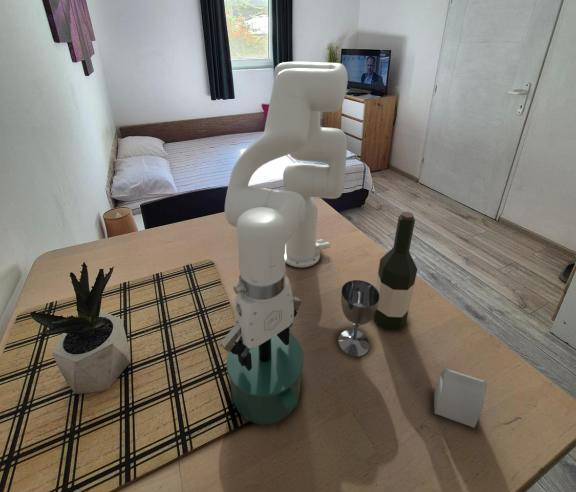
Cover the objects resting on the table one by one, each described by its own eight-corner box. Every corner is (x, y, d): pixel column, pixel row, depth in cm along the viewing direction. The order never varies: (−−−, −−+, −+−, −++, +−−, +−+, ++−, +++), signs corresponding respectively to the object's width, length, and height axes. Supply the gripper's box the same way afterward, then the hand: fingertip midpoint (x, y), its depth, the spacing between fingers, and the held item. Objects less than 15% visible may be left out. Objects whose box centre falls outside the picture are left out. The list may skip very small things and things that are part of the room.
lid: (278, 318, 72) (278, 295, 69) (318, 372, 60) (320, 347, 58) (215, 350, 64) (212, 325, 62) (248, 417, 53) (246, 391, 50)
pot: (271, 337, 76) (271, 310, 73) (321, 410, 62) (324, 381, 58) (216, 367, 70) (213, 338, 66) (258, 456, 55) (256, 426, 51)
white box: (474, 427, 59) (488, 392, 55) (434, 413, 61) (445, 378, 57) (472, 407, 62) (485, 373, 58) (434, 394, 64) (444, 360, 60)
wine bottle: (407, 310, 84) (429, 209, 72) (403, 335, 77) (426, 228, 65) (375, 300, 87) (390, 202, 75) (368, 323, 80) (384, 219, 68)
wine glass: (373, 333, 78) (381, 284, 71) (369, 362, 71) (377, 311, 65) (340, 324, 80) (345, 276, 74) (333, 351, 73) (338, 301, 67)
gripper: (226, 318, 47) (234, 396, 54) (316, 269, 56) (312, 341, 64) (204, 288, 52) (213, 363, 59) (290, 248, 62) (289, 316, 69)
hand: (265, 351), depth 61 cm, fingers open, 7 cm apart
